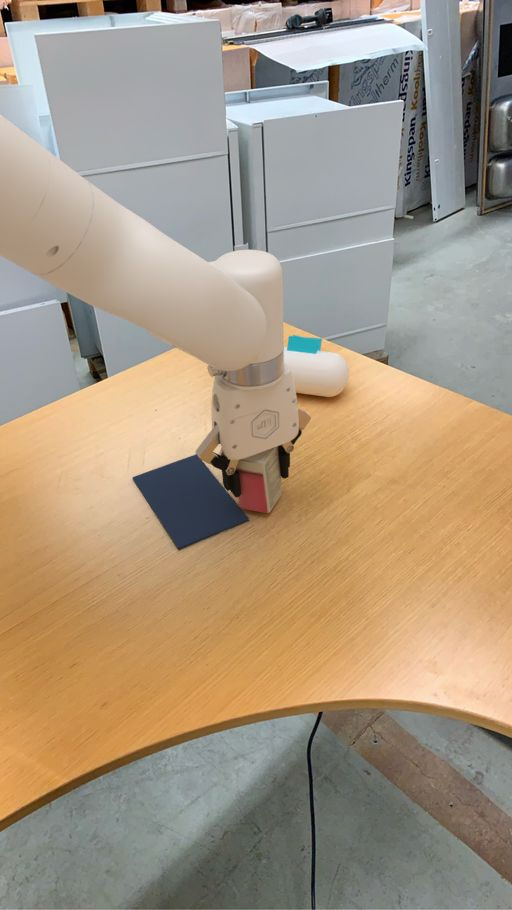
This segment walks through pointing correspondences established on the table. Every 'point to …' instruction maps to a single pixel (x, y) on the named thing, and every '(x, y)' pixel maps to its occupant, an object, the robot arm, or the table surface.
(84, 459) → the table surface
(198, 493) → the cloth
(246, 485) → the small box
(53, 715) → the table surface
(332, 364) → the white rounded piece
